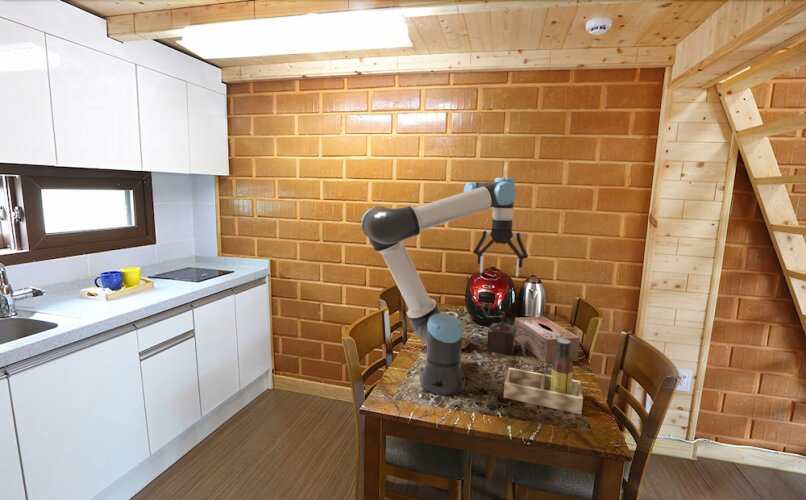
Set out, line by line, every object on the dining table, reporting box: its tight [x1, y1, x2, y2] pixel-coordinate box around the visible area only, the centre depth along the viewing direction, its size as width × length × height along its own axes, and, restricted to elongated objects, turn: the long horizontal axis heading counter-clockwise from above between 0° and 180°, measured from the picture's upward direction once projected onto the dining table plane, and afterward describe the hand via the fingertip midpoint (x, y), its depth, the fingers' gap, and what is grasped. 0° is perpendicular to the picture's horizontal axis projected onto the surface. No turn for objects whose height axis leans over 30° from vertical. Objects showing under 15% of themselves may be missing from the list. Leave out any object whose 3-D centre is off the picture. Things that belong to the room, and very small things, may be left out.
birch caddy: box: [503, 367, 584, 415], centre depth 123 cm, size 23×12×5 cm, turn 68°
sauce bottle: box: [551, 339, 574, 395], centre depth 120 cm, size 7×6×20 cm
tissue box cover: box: [513, 316, 581, 364], centre depth 161 cm, size 26×14×10 cm, turn 11°
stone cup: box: [441, 311, 471, 350], centre depth 160 cm, size 15×12×15 cm
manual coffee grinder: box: [481, 302, 516, 356], centre depth 160 cm, size 16×11×18 cm
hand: (498, 274), depth 146 cm, fingers open, 13 cm apart
